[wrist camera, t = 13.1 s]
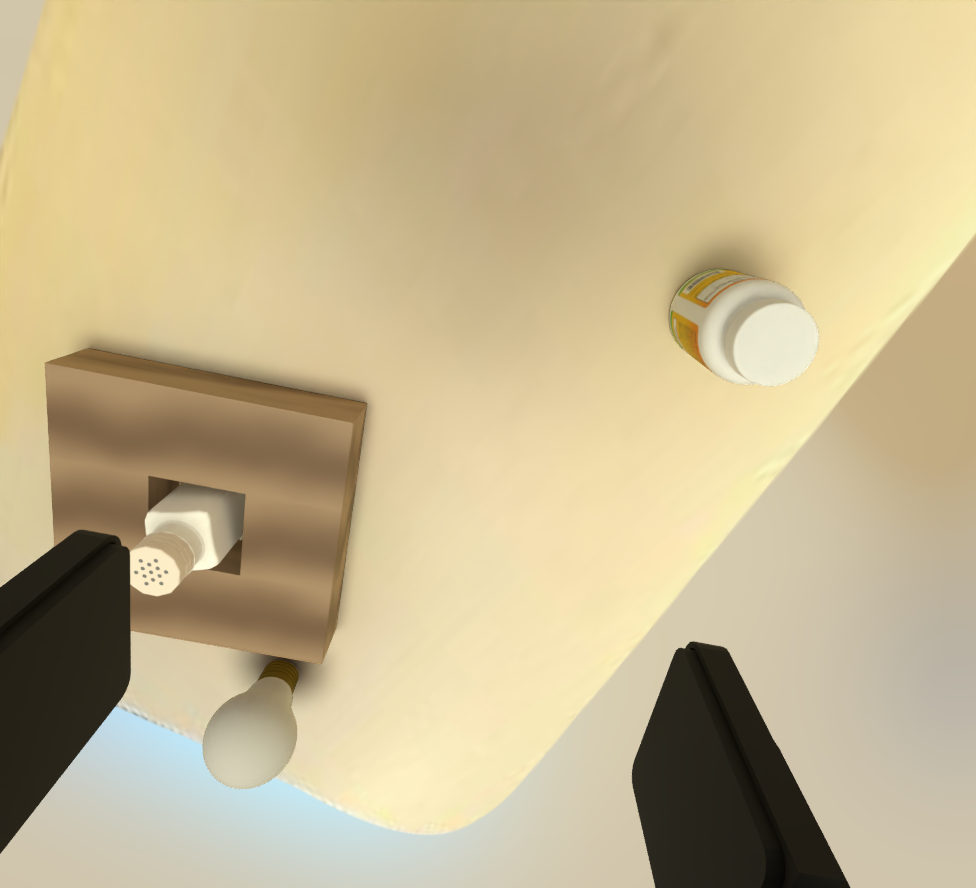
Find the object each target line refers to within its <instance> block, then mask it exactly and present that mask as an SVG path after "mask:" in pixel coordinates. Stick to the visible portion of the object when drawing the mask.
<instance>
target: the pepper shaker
mask: <svg viewBox="0 0 976 888" xmlns="http://www.w3.org/2000/svg"><path fill="white" fill-rule="evenodd" d="M245 498H246V494H243V493H238V492H232V491H227V490H222V489H216V488H211V487H206V486H200V485H195V484H190V483H184V482H183V483H181V484H180V485H179V486H178V487H177V488H176V489H174V490H173V491H172V492H171V493H170V494H168V495H167V496H166V497H165V498H164V499H163V500H161V501H160V502H159V503H158V504H157V505H156V506H154V507H153V508H152V509H151V510H150V511H149V512H148V513H147V516H146V518H145V529H146V537H145V538H144V539H143V540H142V541H141V542H140V543H139V544H137V545H136V546H135V547H134V548H133V549H132V550H131V551H130V585H132V586H133V587H135V588H136V589H137V590H139V591H140V592H142V593H144V594H149V595H153V596H161V595H165V594H169V593H172V591H173V590H174V589H175V588H176V587H177V586H178V585H179V584H180V583H181V581H182V580H183V579H184V578H185V577H186V576H187V575H188V574H189V573H190V572H191V571H193V570H204V569H211V568H213V567H214V566H216V565H218V564H219V563H220V562H221V561H222V559H223V558H224V557H225V556H226V554H227V553H228V552H229V551H230V549H231V548H232V547H233V546H234V544H235V543H236V542H237V541H238V539H239V538H240V537H241V536H242V534H243V526H244V512H245Z"/></svg>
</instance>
